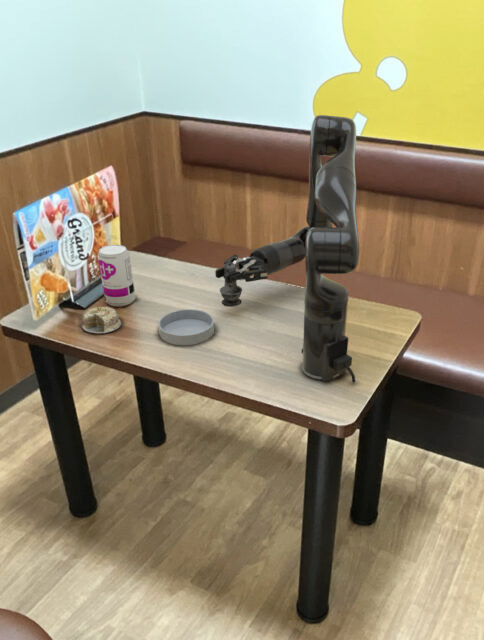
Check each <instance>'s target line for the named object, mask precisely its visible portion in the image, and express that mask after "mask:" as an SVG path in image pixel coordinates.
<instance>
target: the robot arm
mask: <svg viewBox="0 0 484 640" xmlns="http://www.w3.org/2000/svg"><path fill="white" fill-rule="evenodd" d="M356 145H357V127H356V123H355V121H354V120H353V119H352V118H349V117H345V116H336V115H326V114H318V115H316V116H315V117H314V118H313V120H312V123H311V128H310V134H309V147H308V148H309V150H308V151H309V152H308V200H307V207H306V215H305V220H306V224H307V225H306V226H303V227H302V228H301V229H299V230H298V231H297V232H296V233H294V234H292V236H291V237H289V238H286V239H283V240H281V241H277V242H276V241H275V242H271V243H269V244H267V245H263V246H260V247H258V248H254V249H253V250H252V251H251V253H250V255H249V256H243V257H239V256H238V254H233V255H232V256H229V258H227V259H226V260H224V261H223V266H222V267H219V268H217V269H215V271H214V273H215V278H217V279H220V278H223V276H224V275H225V272H224V265H225V264H226V263H228V261H229V260H230V261H231V263H234V264H235V267H236V271H235V272H232V273H230V274H227V275H226V276H225V279H226V283H231V282H234V281H236V282H237V281H244V282H245V283H250V282H251V283H252V282H256V281H262V280H266V279H268V276H269V275H272V274H275V273H277V272H280V271H282V270H284V269H286V268H289V267H290V266H293V265H295V264H298V263H300V262H302V261H304V260H305V289H304V290H305V291H304V309H303V311H304V312H303V313H304V315H303V339H302V340H303V341H302V342H303V343H302V349H301V354H302V364H301V371H302V372H303V374H304V375H306V376H307V377H309V378H311V379H313V380H320V381H323V382H325V383H327V382H329V381H332V380H334V379H337V378H338V377H341V376H343V375H346V372H347V371H348V373H349V374H350V376H351V377H350V378H351V383H356V375H355V372H354V371H353V370H352V368H351V367H352V362H353V357H352V356H351V355H349V354H348V348H349V337H348V336H347V335H346V331H347V318H348V307H349V290H348V289H347V287H346V286H345V285H343V284H342V283H340V282H337V281H335V280H332V279H330V278H329V277H327V276H325V275H348V274H352V273H354V272H355V271H356V269H357V268H358V265H359V261H360V238H359V231H358V230H359V229H358V222H357V178H356V163H355V161H356V160H355V158H356ZM322 157H328V158H329V157H331V158H330V159H328V160H327V161H326V162H325V163H324V164H323V165H322ZM333 225H334V226H335V227H333ZM324 274H325V275H324ZM225 279H224V280H225Z"/></svg>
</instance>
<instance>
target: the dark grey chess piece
mask: <svg viewBox="0 0 484 640" xmlns="http://www.w3.org/2000/svg"><path fill="white" fill-rule="evenodd" d="M223 267H224V272H225V275H224V276H223V277H222V278H223V279H224V286H222V287H221V288H219V293H220V295H221V297H222V300H221V305H223V306H224V307H228V308H235V307H238V306H240V305H242V300H241V298H240V297H241V295H242V292H243V288H242V287H241V286H239V285H238V284H237V283H238V282H237V281H234V282H231V283H226V279H225V276H226V275H227V274H230V273H232V272H235V271H236V267H235V264H234V263H231V261H230V260H229V261H228V263H226V264H225V265H224V264H223Z"/></svg>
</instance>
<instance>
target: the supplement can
mask: <svg viewBox="0 0 484 640" xmlns="http://www.w3.org/2000/svg"><path fill="white" fill-rule="evenodd" d="M97 261H98V266H99V272H100V279H101V282H102V290H103V296H104V301H105V303H106V304H107V305H108V306H111V307H116V308H117V307H118V308H120V307H126V306H128V305H131V304H132V303H133V302H134V301H135V300H136V293H135V292H136V291H135V286H134V285H135V284H134V278H133V271H132V264H131V256H130V252H129V250H128V249H127V247H126V246H125V245H123V244H107V245H104V246H102V247H100V248H99V250H98V253H97Z"/></svg>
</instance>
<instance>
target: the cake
mask: <svg viewBox="0 0 484 640" xmlns="http://www.w3.org/2000/svg"><path fill="white" fill-rule="evenodd" d="M121 326H122V322H121V319H120V318H119V314H118V312H117V311H116V309H114V308H113V307H109V306H98V307H97V306H95V307H92V308H88V310H87V309H86V310H85V312H83V314H82V317H81V328H82V329H83V330H84V331H86V332H88V333H92V334H106V333H111V332H113V331H116V330H118V329H119V328H120V327H121Z"/></svg>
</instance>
